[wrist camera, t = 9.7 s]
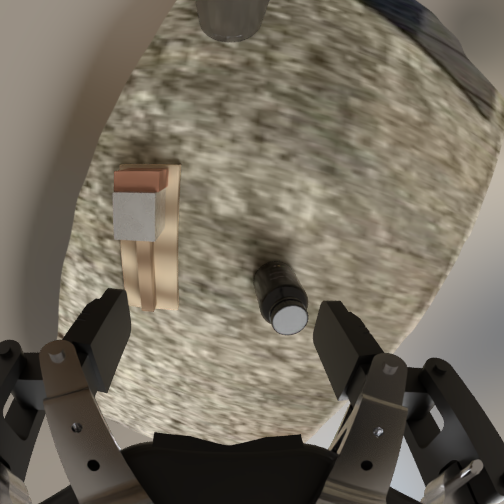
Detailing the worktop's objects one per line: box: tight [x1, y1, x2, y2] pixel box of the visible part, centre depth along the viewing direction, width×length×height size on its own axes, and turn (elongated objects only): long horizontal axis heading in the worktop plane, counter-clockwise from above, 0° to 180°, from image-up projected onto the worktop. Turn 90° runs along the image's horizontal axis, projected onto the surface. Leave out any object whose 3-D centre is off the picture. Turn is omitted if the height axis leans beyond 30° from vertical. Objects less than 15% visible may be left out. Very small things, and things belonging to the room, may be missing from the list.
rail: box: [114, 164, 181, 312], centre depth 37 cm, size 23×9×7 cm, turn 174°
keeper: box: [113, 188, 166, 242], centre depth 33 cm, size 6×6×6 cm
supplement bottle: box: [254, 262, 308, 335], centre depth 39 cm, size 7×7×12 cm
